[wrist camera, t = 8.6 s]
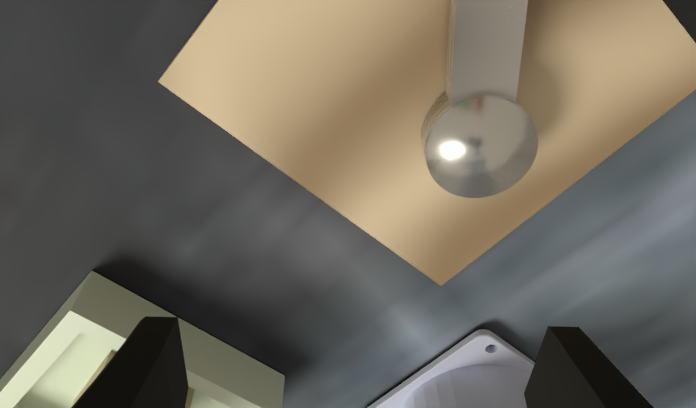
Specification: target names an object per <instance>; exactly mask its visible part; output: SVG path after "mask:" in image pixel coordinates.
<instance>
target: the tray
mask: <svg viewBox="0 0 696 408" xmlns="http://www.w3.org/2000/svg"><path fill="white" fill-rule="evenodd" d="M145 316H150V317H176V316H174V315H173V314H171V313H169V312H167V311H165V310H163V309H162V308H160V307H158V306H156V305H154V304H152V303H151V302H149V301H147V300H145V299H143V298H142V297H140V296H138V295H136V294H134V293H132V292H131V291H129V290H127V289H125V288H123V287H121V286H120V285H118V284H116V283H114V282H112V281H110V280H109V279H107V278H105V277H103V276H101V275H99V274H98V273H96V272H94V271H91V272H90V273H89V275H88V276H87V277H86V278H85V279H84V280H83V282H82V283H81V284H80V285H79V286H78V288H77V289H76V290H75V291H74V292H73V294H72V295H71V296H70V297H69V298H68V300H67V301H66V302H65V303H64V304H63V305H62V307H61V308H60V309H59V310H58V311H57V313H56V314H55V315H54V316H53V317H52V319H51V320H50V321H49V322H48V323H47V325H46V326H45V327H44V328H43V329H42V331H41V332H40V333H39V334H38V335H37V336H36V338H35V339H34V340H33V341H32V342H31V344H30V345H29V346H28V347H27V348H26V350H25V351H24V352H23V353H22V354H21V356H20V357H19V358H18V359H17V360H16V362H15V363H14V364H13V365H12V366H11V367H10V369H9V370H8V371H7V372H6V373H5V375H4V376H3V377H2V378H1V379H0V408H71V406H72V404H73V402H74V400H75V398H76V397H77V396H78V394H79V393H80V392H81V390H82V389H83V388H84V386H85V385H86V383H87V382H88V381H89V379H90V378H91V377H92V375H93V374H94V373H95V371H96V370H97V369H98V367H99V366H100V365H101V363H102V362H103V361H104V359H105V358H106V356H107V355H108V354H109V352H110V351H111V350H112V351H114V352H117V351H118V350H119V348H120V347H121V346H122V344H123V343H124V342H125V340H126V339H127V338H128V336H129V335H130V334H131V332H132V331H133V330H134V328H135V327H136V326H137V324H138V323H139V322H140V320H142V319H143V318H144V317H145ZM178 321H179V328H180V334H181V341H182V347H183V354H184V360H185V367H186V373H187V380H188V386H189V387H191V388H193V389H195V391H194V395H193V399H192V403H191V407H190V408H282V403H283V392H284V380H285V376H284V375H283V374H281V373H279V372H277V371H275V370H273V369H272V368H270V367H268V366H266V365H264V364H262V363H261V362H259V361H257V360H255V359H253V358H251V357H250V356H248V355H246V354H244V353H242V352H240V351H239V350H237V349H235V348H233V347H231V346H229V345H228V344H226V343H224V342H222V341H220V340H218V339H217V338H215V337H213V336H211V335H209V334H207V333H206V332H204V331H202V330H200V329H198V328H196V327H195V326H193V325H191V324H189V323H187V322H185V321H184V320H182V319H180V318H178Z"/></svg>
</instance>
